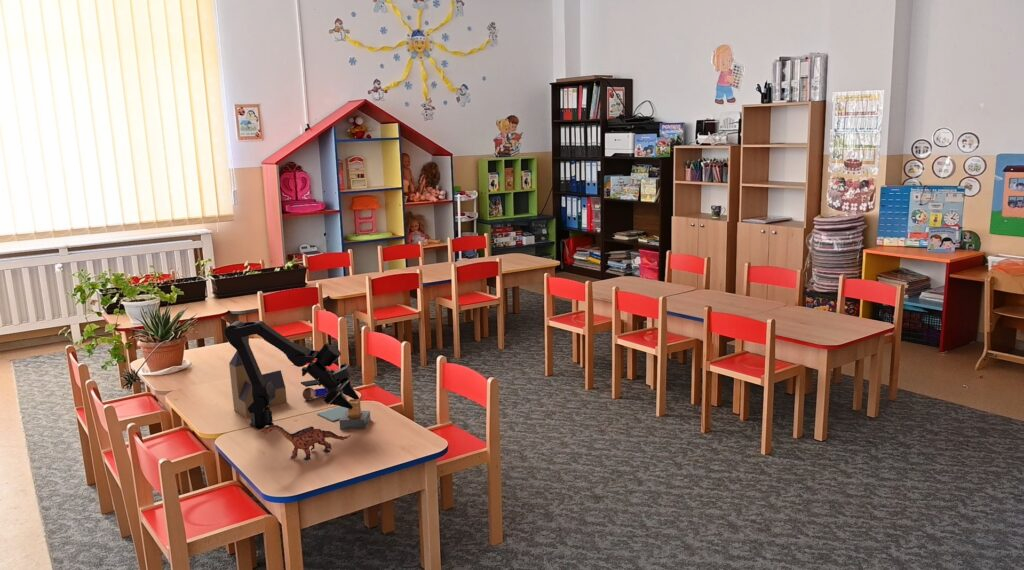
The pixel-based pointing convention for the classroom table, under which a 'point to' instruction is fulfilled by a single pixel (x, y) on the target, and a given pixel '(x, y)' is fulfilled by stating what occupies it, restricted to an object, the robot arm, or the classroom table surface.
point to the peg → (354, 408)
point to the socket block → (355, 421)
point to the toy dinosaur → (306, 439)
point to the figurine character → (312, 390)
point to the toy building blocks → (244, 387)
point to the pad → (333, 413)
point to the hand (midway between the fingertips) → (355, 403)
